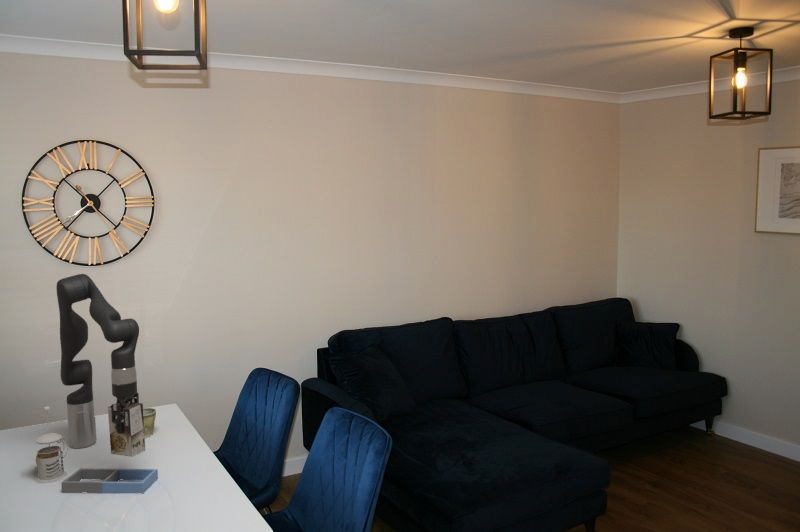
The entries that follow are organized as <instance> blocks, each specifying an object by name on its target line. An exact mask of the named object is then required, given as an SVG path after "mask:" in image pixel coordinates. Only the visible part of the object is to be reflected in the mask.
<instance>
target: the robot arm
mask: <svg viewBox="0 0 800 532" xmlns="http://www.w3.org/2000/svg"><path fill="white" fill-rule="evenodd" d="M55 288H56V289H55V290H56V296H57V297H56V298H57V304H58V311H59V339H60V341H59V342H60V350H61V351H60V353H61V354H60V356H61V357H60V359H61V360H60V380H61V383H62V385H64V386H68V387H70V386H77V385H78V386H79V385H82V386H81V387H80V388H78V389H76V390H75V391H73V392H71V393H69V394H67V396H66V410H67V412H66V414H67V426H68V427H67V428H68V441H69V443H68V446H69V447H70V448H71V449H83V448H88V447H92V446H93V445H95V444H96V442H97V441H96V440H97V428H96V427H97V426H96V416H95V407H94V406H95V405H94V390H93V365H92V362H91V360H90V359H80V360H74V359H75V357H76V356H77V355H78V354H79V353H80V352H81V351H82V350H83V349H84V347H85V346H86V345H87V343H88V340H89V326H88V323H87V321H86V320H85V319H84V318H83V317H82V316H81V315H79V314H78V312H76V311H75V310H74V309H73V308H72V306H73V304H75V303H79V302H81V301H86V300H87V299H90V304H89V309H88V313H89V315H90V317H91V318H92V319H93V320H94V322H95V323H96V324H98V326H99V327H100V329H101V331H102V334H103V337H104V339H105V340H106V342H109V343H112V344H114V343H121V342H122V345H120V346H119V347H118V348H115V349H113V350H112V351H111V353H110V362H111V371H110V373H111V375H110V377H111V392H112V393H111V395H112V396H113V397H115V398H116V402H115V404H114V403H113V404H111V405H110V406H111V412H112V422H113V423H117V433H118V434H123V433H125V427H124V415H125V413H124V412H121V408H127V407H129V406H130V404H133V403H140V401H139V399H140V398H139V397H140V396H139V395H140V394H139V392H138V380H137V369H136V360H135V359H136V358H135V354H136V353H135V352H136V349H137V345H138V344H137V343H138V339H139V335H140V326H139V324H138V322H137V320H135V319H133V318H125V319H124V318H123V319H122V317H121V314H120V313H119V311H118V310H117V309H115V307H113V306H112V305H111V304H110V303H109V302H108V301H107V299H106V298H105V297H104V295H103V294H102V292H101V290H100V289H99V288H98V286H97V285H96V283H95V282H94V281H93V280H92V278H91V277H90V276H89V275H88V274H86V273H79V274H74V275H71V276H68V277H64V278H60V279H59V280H58V281H57V282H56V287H55ZM121 415H122V418H121ZM115 416H116V418H115Z"/></svg>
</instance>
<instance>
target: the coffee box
mask: <svg viewBox="0 0 800 532" xmlns="http://www.w3.org/2000/svg"><path fill="white" fill-rule="evenodd" d="M143 408H144V403H143V402H139V403H133V404H130V406H129V407H127V408H121V412H124V413H125V415H124V427H125V433H123V434H118V433H117V423H113V422H112V412H111V405H110V406H107V414H108V415H107V417H108V428H109V429H108V430H109V441H110V445H109V446H110V455H116V456H122V457H123V456H124V457H130V458H132V457H135V456H137V455H140V454H141V453H143V452H145V451H146V441H145V439H146V438H145V436H144V418H143ZM115 418H116V416H115ZM121 418H122V415H121Z"/></svg>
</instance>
